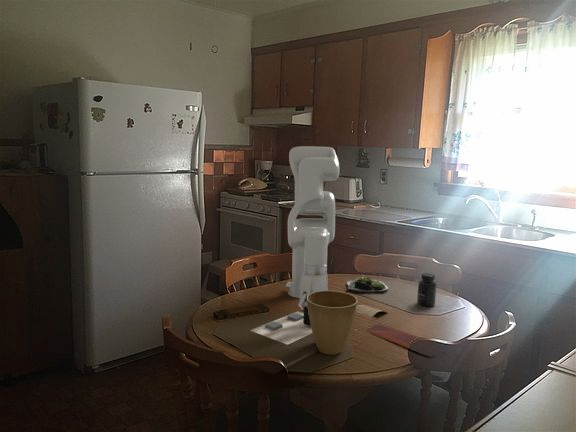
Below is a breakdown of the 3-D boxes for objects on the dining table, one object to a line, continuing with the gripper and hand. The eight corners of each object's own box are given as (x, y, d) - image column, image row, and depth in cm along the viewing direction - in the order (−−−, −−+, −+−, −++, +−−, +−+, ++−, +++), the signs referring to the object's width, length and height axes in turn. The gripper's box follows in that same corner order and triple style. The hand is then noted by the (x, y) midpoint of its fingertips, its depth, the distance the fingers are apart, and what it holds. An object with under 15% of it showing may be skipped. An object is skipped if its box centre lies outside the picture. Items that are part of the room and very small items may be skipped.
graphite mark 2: (287, 318, 161) (287, 315, 161) (294, 315, 164) (294, 312, 164) (296, 321, 158) (296, 318, 158) (303, 318, 161) (303, 315, 161)
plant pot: (297, 354, 136) (298, 301, 134) (315, 336, 149) (317, 287, 147) (347, 365, 130) (349, 309, 128) (361, 344, 144) (363, 294, 141)
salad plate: (340, 281, 212) (341, 271, 212) (379, 281, 213) (380, 271, 213) (348, 294, 193) (349, 284, 193) (391, 294, 194) (392, 283, 194)
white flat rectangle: (249, 333, 151) (249, 330, 150) (297, 314, 168) (297, 311, 168) (287, 348, 140) (287, 344, 140) (334, 326, 158) (334, 322, 158)
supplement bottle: (415, 305, 180) (417, 275, 178) (418, 300, 186) (419, 271, 184) (434, 308, 177) (436, 277, 176) (436, 303, 184) (438, 273, 182)
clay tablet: (367, 324, 162) (368, 316, 161) (344, 316, 169) (344, 309, 168) (390, 314, 172) (390, 307, 172) (366, 307, 179) (367, 300, 179)
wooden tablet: (449, 351, 141) (450, 346, 141) (430, 360, 135) (430, 355, 135) (380, 324, 162) (380, 320, 161) (360, 331, 155) (361, 326, 155)
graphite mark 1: (265, 327, 153) (265, 324, 153) (273, 324, 156) (273, 321, 156) (274, 330, 150) (274, 327, 150) (282, 327, 153) (282, 324, 153)
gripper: (322, 262, 162) (320, 312, 165) (289, 271, 149) (288, 326, 152) (339, 266, 157) (338, 318, 160) (307, 276, 144) (306, 332, 147)
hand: (314, 321), depth 156 cm, fingers closed on sanding block, 6 cm apart
